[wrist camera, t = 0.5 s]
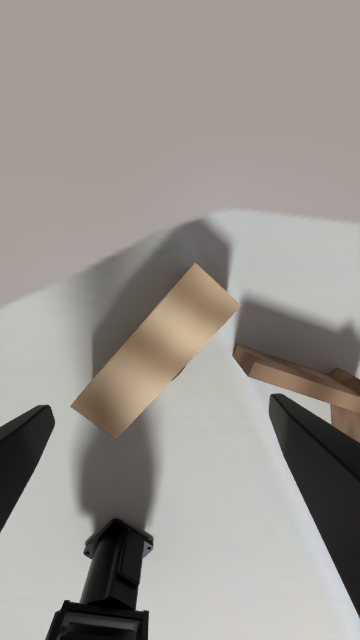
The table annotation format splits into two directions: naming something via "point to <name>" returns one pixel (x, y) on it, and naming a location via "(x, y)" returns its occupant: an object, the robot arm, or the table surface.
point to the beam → (156, 351)
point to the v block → (308, 385)
